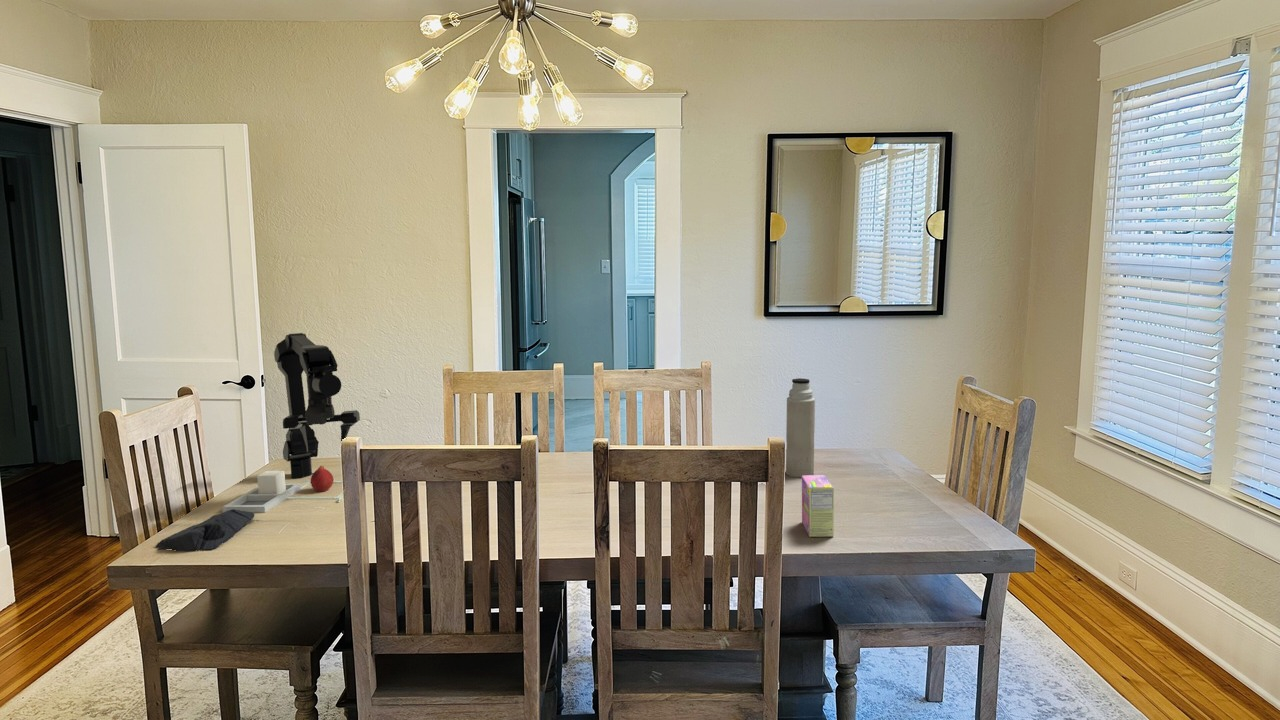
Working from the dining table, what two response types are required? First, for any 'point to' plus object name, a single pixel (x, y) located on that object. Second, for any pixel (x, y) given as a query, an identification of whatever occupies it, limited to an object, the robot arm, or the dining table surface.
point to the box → (817, 506)
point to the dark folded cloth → (208, 532)
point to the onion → (321, 479)
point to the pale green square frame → (318, 497)
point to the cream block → (271, 482)
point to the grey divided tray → (260, 500)
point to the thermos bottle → (800, 429)
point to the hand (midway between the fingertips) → (324, 450)
